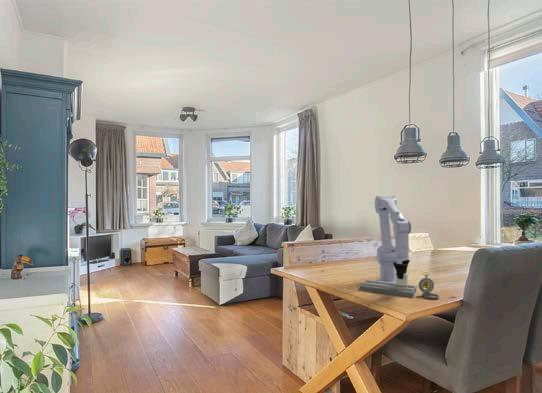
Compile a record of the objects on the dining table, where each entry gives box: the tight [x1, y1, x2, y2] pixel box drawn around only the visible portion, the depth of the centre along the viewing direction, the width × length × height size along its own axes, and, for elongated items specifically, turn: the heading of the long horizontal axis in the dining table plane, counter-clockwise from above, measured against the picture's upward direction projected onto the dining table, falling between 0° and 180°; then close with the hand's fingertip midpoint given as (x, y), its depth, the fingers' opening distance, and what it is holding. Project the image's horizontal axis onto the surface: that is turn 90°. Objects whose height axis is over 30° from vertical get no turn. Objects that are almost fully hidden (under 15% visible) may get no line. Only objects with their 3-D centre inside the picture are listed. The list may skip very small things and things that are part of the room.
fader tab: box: [395, 272, 409, 288], centre depth 155 cm, size 4×5×6 cm
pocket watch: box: [418, 272, 440, 300], centre depth 148 cm, size 8×8×10 cm
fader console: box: [359, 279, 417, 298], centre depth 158 cm, size 12×23×3 cm, turn 60°
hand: (401, 277), depth 155 cm, fingers open, 7 cm apart
